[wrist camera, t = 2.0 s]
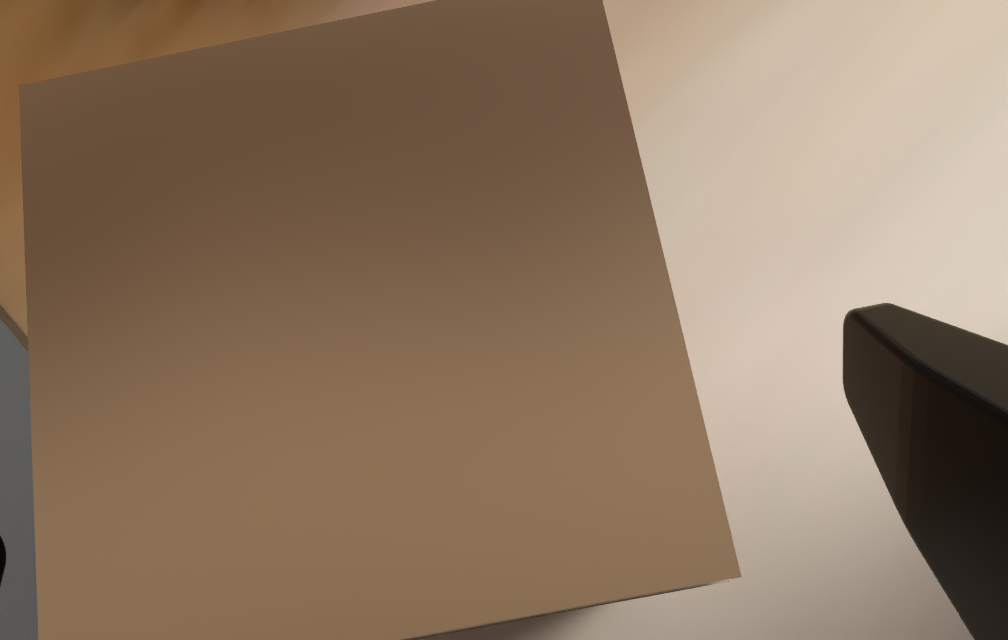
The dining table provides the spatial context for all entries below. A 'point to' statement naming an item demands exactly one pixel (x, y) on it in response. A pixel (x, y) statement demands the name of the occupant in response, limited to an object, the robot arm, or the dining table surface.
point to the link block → (356, 337)
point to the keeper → (16, 488)
